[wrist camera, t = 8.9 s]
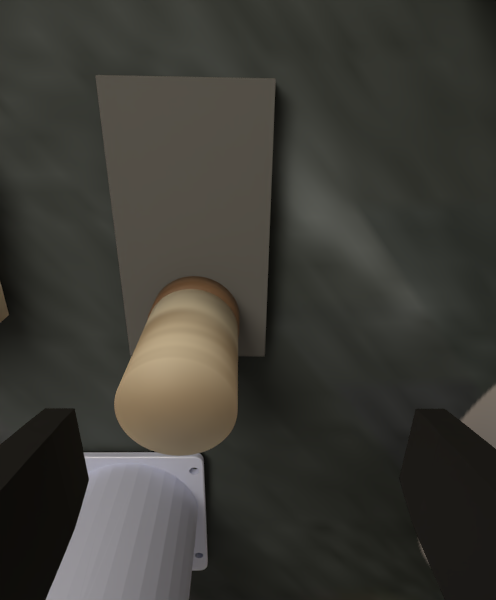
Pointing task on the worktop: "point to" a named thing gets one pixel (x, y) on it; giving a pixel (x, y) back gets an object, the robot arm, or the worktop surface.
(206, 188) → the pad
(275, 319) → the worktop surface
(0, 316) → the socket board
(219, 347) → the sleeve band down
